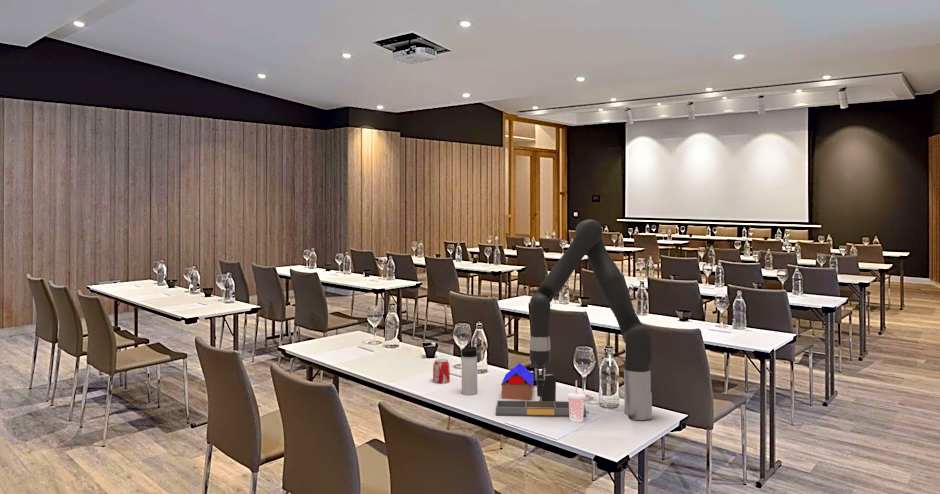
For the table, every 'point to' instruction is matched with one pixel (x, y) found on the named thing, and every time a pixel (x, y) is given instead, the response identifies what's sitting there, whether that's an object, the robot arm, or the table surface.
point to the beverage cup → (576, 406)
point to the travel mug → (469, 371)
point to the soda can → (441, 371)
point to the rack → (534, 408)
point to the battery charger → (549, 388)
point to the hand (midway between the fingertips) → (540, 393)
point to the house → (518, 384)
